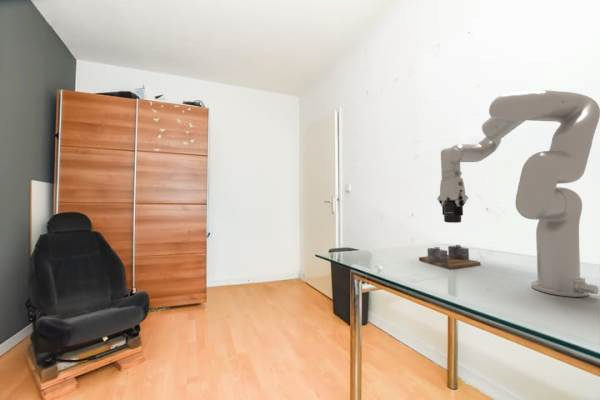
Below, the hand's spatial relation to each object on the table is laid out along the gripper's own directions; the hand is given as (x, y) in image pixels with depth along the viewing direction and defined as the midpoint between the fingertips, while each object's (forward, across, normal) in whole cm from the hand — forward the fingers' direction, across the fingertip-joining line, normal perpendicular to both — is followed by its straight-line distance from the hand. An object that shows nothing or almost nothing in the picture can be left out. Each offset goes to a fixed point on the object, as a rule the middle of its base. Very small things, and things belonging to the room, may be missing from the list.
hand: (452, 214), depth 121 cm
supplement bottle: (+4, 0, 0) cm, 4 cm away
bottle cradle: (+21, 0, +3) cm, 22 cm away
